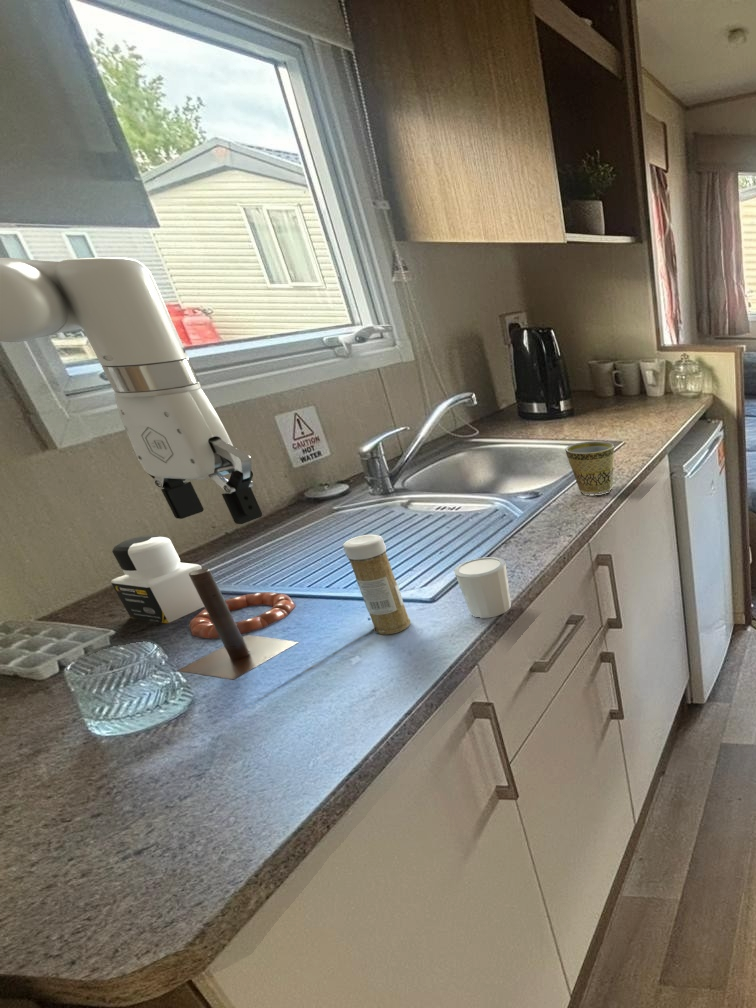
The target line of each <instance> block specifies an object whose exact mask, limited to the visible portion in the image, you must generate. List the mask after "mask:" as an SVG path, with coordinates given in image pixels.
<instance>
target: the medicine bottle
mask: <svg viewBox="0 0 756 1008" xmlns="http://www.w3.org/2000/svg"><path fill="white" fill-rule="evenodd" d="M111 552H112V554H113V557H114V558H115V559H116V561H117V563H118V565H119V567H120V569H121V571H122V572H123V574H124V575H121V576H118V577H115V578H112V579H111V581H110V584H111V586H112V587H113V589H114V591H115V593H116V595H117V597H119V600H120V601H121V603H122V605H123V607H124V608H125V610H126V612H127V614H128V616H129V618H130V619H133V620H141V621H146V622H147V621H148V622H154V623H160V624H161V623H162V624H170V623H172V622H174V621H177V620H179V619H181V618H183V617H186V616H187V615H189V614H191V613H194V612H196V611H198V610H201V609H203V608H205V606H204V604H203V602H202V600H201V598H200V596H199V594H198V592H197V590H196V588H195V586H194V584H193V582H192V580H191V578H190V576H189V573H190V572H192V571H194V570H197V569H202V568H203V567H202V566H201V565H200V564H197V563H190V562H189V563H188V562H181V559H180V557H179V554H178V552H177V550H176V549H175V547H174V544H173V542H172V540H171V539H170V538H169V537H167V536H165V535H159V534H148V535H141V536H136V537H132V538H128V539H126V540H123V541H121V542H119V543H118V544H116V545H115V546H114V547H113V548H112V551H111Z"/></svg>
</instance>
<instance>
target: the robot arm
mask: <svg viewBox="0 0 756 1008" xmlns="http://www.w3.org/2000/svg"><path fill="white" fill-rule="evenodd" d="M170 315H171V314H170V313H169V310H168V308H167V306H166V304H165V302H164V299H163V297H162V294H161V292H160V289H159V288H158V285H157V283H156V281H155V278H154V277H153V275H152V272H151V271H150V270H149V268H148V267H147V266H146V265H145V264H143V263H142V262H140V261H139V260H137V259H134V258H130V257H129V258H128V257H81V258H80V257H79V258H68V259H63V260H60V261H53V260H52V261H51V260H38V259H29V258H27V259H26V258H17V257H15V258H14V257H0V342H3V343H20V342H27V341H31V340H35V339H38V338H43V337H48V336H53V335H57V334H61V333H66V332H71V331H76V330H83V332H84V335H85V336H86V338H87V341H88V342H89V345H90V346H91V348H92V351H93V352H94V354H95V356H96V358H97V360H98V362H99V364H100V366H101V368H102V370H103V373H104V374H105V376H106V378H107V380H108V382H109V384H110V386H111V388H112V390H113V391H114V398H115V403H116V406H117V410H118V413H119V416H120V419H121V422H122V425H123V427H124V429H125V432H126V435H127V437H128V439H129V442H130V444H131V446H132V449H133V450H132V451H131V453H132V455H133V457H134V458H135V459H136V460H137V461H138V463H140V465H141V467H142V469H143V470H144V472H145V473H146V474H148V475H149V476H150V477H151V478H152V479H153V483H154V485H155V486H156V487H157V488H158V489H160V491H161V492H162V495H163V497H164V498H165V500H166V502H167V505H168V507H169V508H170V510H171V512H172V514H173V517H174V518H175V519H178V520H179V519H180V520H183V519H185V518H188V517H192V516H194V515H198V514H201V513H203V511H204V506H203V504H202V502H201V500H200V498H199V496H198V494H197V492H196V490H195V488H194V486H193V484H192V482H191V481H203V480H205V479H207V478H210V479H211V480H212V481H213V482H214V483H215V484H217V486H219V487H220V488H221V489H222V490H223V492H224V493H221V495H222V496H221V497H222V499H223V500H224V502H225V503H224V504H225V505H226V507H227V509H228V511H229V513H230V515H231V518H232V520H233V522H234V524H236V525H244V524H246V523H250V522H251V521H254V520H256V519H259V518H262V516H263V513H262V512H263V511H262V510H261V507H260V505H259V503H258V500H257V499H256V496H255V494H254V491H253V490H252V488H253V486H254V482H253V481H252V480H253V477H254V472H253V471H252V458H251V456H250V455H249V454H248V453H246V452H244V451H243V450H240V449H239V448H237V447H235V446H234V445H233V442H232V441H231V438H230V435H229V434H228V432H227V430H226V428H225V426H224V424H223V422H222V421H221V419H220V417H219V414H218V413H217V411H216V409H215V408H214V406H213V405H212V403H211V401H210V400H209V398H208V396H207V395H206V394H205V392H204V389H202V386H201V383H200V380H199V378H198V376H197V373H196V372H195V370H194V367H193V365H192V362H191V361H190V358H189V356H188V353H187V352H186V349H185V347H184V344H183V342H182V340H181V338H180V336H179V333H178V331H177V328H176V326H175V324H174V322H173V320H172V317H171V316H170ZM229 474H230V477H229V479H228V478H226V477H225V475H229ZM186 480H187V481H186Z"/></svg>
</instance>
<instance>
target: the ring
mask: <svg viewBox="0 0 756 1008" xmlns="http://www.w3.org/2000/svg"><path fill="white" fill-rule="evenodd" d="M224 600H225V602H226V604H227V606H228V608H229V610H230V612H232V611H236V610H239V609H242V608H247V607H253V606H261V605H265V606H271V607H272V608H271V609H269V610H266V611H265V612H262V613H260V614H259V615H257V616H254V617H250V618H247V619H243V620H240V621H235V623H236V625H237V627H238V629H239V631H240V633H241V635H245V634H247V633H250V632H253V631H257V630H260V629H264V628H266V627H269V626H270V625H273V624H274V623H277V622H279V621H280V620H282V619H284V618H286V617H288V616H289V615H290V614H291V612H292V611H293V610H294V608H295V607H296V603H295V602H294V600H293V599H292V598H291V597H290V596H289V595H287V594H285V593H278V592H272V591H271V592H270V591H266V592H265V591H264V592H256V593H247V594H243V595H239V596H235V597H232V598H228V599H224ZM188 627H189V630H190V632H191V635H192V636H194V637H198V638H204V639H220V637H219V635H218V632H217V630H216V628H215V626H214V624H213V622H212V620H211V618H210V616H209V614H208V612H207V610H206V608H204V609H202V610H201V611H200V612H199V613H198V614H197V615H195V616H194V618H192V619H191V620H190V622H189V625H188Z"/></svg>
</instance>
